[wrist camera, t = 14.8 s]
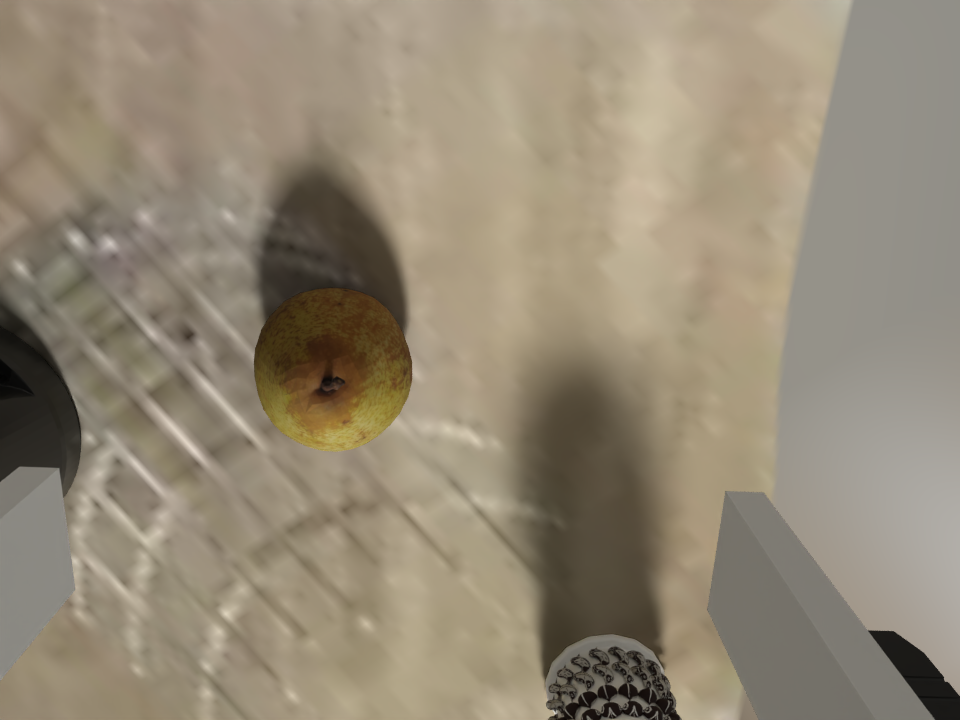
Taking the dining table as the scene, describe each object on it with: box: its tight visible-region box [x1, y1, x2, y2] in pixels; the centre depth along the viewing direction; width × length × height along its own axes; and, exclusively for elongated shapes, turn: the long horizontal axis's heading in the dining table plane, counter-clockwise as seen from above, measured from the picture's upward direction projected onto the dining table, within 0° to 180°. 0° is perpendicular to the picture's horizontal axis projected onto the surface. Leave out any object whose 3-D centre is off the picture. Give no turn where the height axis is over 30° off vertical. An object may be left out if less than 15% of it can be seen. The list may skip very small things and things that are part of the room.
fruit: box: [254, 288, 412, 452], centre depth 42 cm, size 9×9×12 cm
